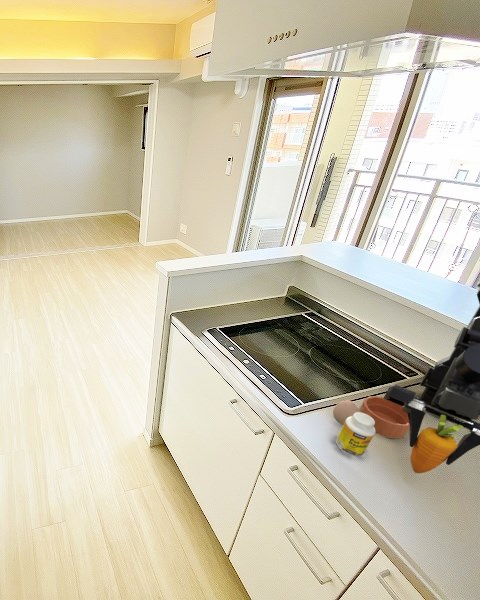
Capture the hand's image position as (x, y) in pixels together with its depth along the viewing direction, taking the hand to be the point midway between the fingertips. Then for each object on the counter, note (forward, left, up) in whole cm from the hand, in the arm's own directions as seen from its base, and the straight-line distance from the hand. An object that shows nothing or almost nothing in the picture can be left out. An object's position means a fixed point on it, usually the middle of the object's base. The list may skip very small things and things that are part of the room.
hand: (428, 455), depth 63 cm
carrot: (-1, 0, -7) cm, 7 cm away
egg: (-9, -18, -14) cm, 25 cm away
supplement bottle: (-3, -12, -14) cm, 19 cm away
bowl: (-18, -14, -14) cm, 27 cm away
